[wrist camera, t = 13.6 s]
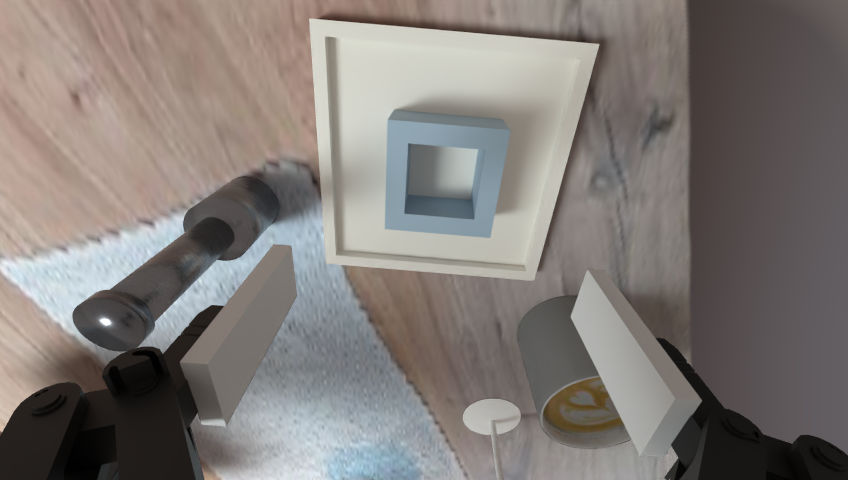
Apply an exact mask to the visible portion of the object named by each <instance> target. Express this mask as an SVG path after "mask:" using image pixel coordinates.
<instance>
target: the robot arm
mask: <svg viewBox="0 0 848 480" xmlns="http://www.w3.org/2000/svg"><path fill="white" fill-rule="evenodd" d="M296 297H297V291H296V282H295V273H294V265H293V256H292V248H291V246H289V245H276V244H274V245H273V246H272V247H271V248H270V250H269V251H268V252H267V253H266V255H265V256H264V257H263V258H262V260H261V261H260V262H259V263H258V265H257V266H256V267H255V268H254V270H253V271H252V272H251V273H250V275H249V276H248V277H247V278H246V280H245V281H244V282H243V283H242V285H241V286H240V287H239V288H238V290H237V291H236V292H235V293H234V295H233V296H232V297H231V298H230V300H229V301H228V302H227V303H226V305H225V306H217V305H211V306H210V307H208V308H207V309H205V310H203V311H202V312H200V313H199V314H198V315H197V316H196V317H195V318H194V319H193V320H192V322H191V323H190V324H189V326H188V327H186V328H185V330H184V331H183V332H182V333H181V336H178V338H177V339H176V340H175V341H174V342H173V343H172V344H171V346H170V347H169V348H168V349H167V350H166V351H165V352H164V354H162V352H161V351H160V349H157V348H155V347H140V348H136V349H132V350H129V351H127V352H125V353H123V354H120V355H119V356H117V357H116V358H115V359H113V360H112V361H110V363H109V364H108V365H107V366H106V367H105V368H104V371H103V374H102V377H103V379H104V381H105V383H106V385H107V387H108V389H105V390H99V391H94V392H88V393H84V392H83V391H82V389H81V388H80V387H79V385H78V384H75V383H70V382H66V383H58V384H55V385H52V386H49V387H46V388H43V389H41V390H40V391H38V392H36V393H34V394H32V395H31V396H29V397H28V398H27V399H25V400H24V401H23V402H21V403H20V405H19V406H18V407H17V408H16V410H15V411H14V412H13V414H12V416H11V418H10V420H9V421H8V423H7V425H6V427H5V428H4V430H3V432H2V434H1V436H0V480H204V476H203V472H202V468H201V464H200V460H199V457H198V453H197V449H196V445H195V441H194V437H193V433H192V430H191V427H190V424H191V422H192V421H193V419H194V418H195V416H196V414H197V413H198V416H199V419H200V422H201V424H202V425H213V426H227V424H228V422H229V420H230V418H231V417H232V415H233V413H234V411H235V409H236V407H237V406H238V404H239V402H240V400H241V398H242V396H243V395H244V393H245V391H246V389H247V387H248V385H249V384H250V382H251V380H252V378H253V376H254V374H255V372H256V371H257V369H258V367H259V365H260V363H261V361H262V360H263V358H264V356H265V354H266V352H267V350H268V349H269V347H270V345H271V343H272V341H273V339H274V338H275V336H276V334H277V332H278V330H279V328H280V326H281V325H282V323H283V321H284V319H285V317H286V315H287V314H288V312H289V310H290V308H291V306H292V304H293V303H294V301H295V299H296ZM571 319H572V321H573V323H574V325H575V327H576V329H577V331H578V333H579V335H580V337H581V339H582V341H583V343H584V345H585V347H586V349H587V351H588V353H589V355H590V357H591V359H592V361H593V363H594V365H595V367H596V369H597V371H598V373H599V375H600V377H601V379H602V381H603V383H604V385H605V387H606V389H607V391H608V393H609V395H610V397H611V399H612V401H613V403H614V405H615V407H616V409H617V411H618V413H619V415H620V417H621V419H622V421H623V423H624V425H625V427H626V429H627V431H628V433H629V435H630V437H631V439H632V441H633V443H634V445H635V447H636V449H637V451H638V453H639V455H640V456H648V457H663V458H664V456H665V455H666V453H667V452H668V450H669V449H670V447H671V446H672V447H673V449H674V451H675V453H676V454H677V456H678V459H677V461H676V462H675V464H674V465H673V466H672V468H671V469H670V471H669V472H668V473H667V475H666V476H665V479H666V480H669V479H670V480H848V455H847V454H845V453H844V452H843V451H842V450H840V449H839V448H837V447H836V446H834V445H833V444H831V443H829V442H827V441H825V440H823V439H820V438H818V437H814V436H810V435H800V436H799V437H798V438H797V439H796V440H795V441H794V443H793V444H791V443H788V442H785V441H781V440H779V439H776V438H772V437H769V436H766V435H763V434H762V433H761V431H760V430H759V428H758V427H757V426H755V425H754V424H753V423H752V422H751V421H750V420H748V419H747V418H745V417H744V416H742V415H741V414H739V413H736V412H734V411H732V410H729V409H725V408H724V407H723V406H722V405H721V403H720V402H719V401H718V400H717V398H716V397H715V396H714V395H713V393H712V392H711V391H710V390H709V388H708V387H707V386H706V385H705V383H704V382H703V381H702V379H701V378H700V377H699V376H698V374H697V373H695V372H694V369H693V368H692V367H691V366H690V364H688V363H687V361H686V359H685V358H684V357H683V356H682V354H681V353H680V352H679V351H678V349H676V348H675V347H674V346H673V345H671V344H670V343H669V342H668V341H666V340H665V339H662V338H655V337H654V336H653V334H652V333H651V332H650V330H649V329H648V328H647V326H646V325H645V324H644V322H643V321H642V320H641V318H640V317H639V316H638V314H637V313H636V312H635V310H634V309H633V308H632V306H631V305H630V304H629V302H628V301H627V300H626V298H625V297H624V296H623V294H622V293H621V292H620V290H619V289H618V288H617V286H616V285H615V284H614V282H613V281H612V280H611V278H610V277H609V276H608V274H607V273H606V272H605V270H593V269H587V272H586V275H585V277H584V280H583V283H582V286H581V289H580V291H579V294H578V297H577V300H576V303H575V306H574V308H573V311H572V314H571Z"/></svg>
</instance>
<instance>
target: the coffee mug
mask: <svg viewBox="0 0 848 480" xmlns="http://www.w3.org/2000/svg"><path fill="white" fill-rule="evenodd" d="M577 297H578V296H564V297H557V298H553V299H550V300H547V301H545V302H543V303H541V304H539V305H537V306H536V307H534V308H533V309H532V310H530V311H529V312H528V313H527V314H526V315H525V317H524V318H523V319H522V321H521V323H520V325H519V328H518V333H517V337H518V342H519V346H520V350H521V354H522V358H523V361H524V365H525V369H526V373H527V376H528V380H529V384H530V388H531V392H532V395H533V399H534V403H535V407H536V410H537V414H538V418H539V421H540V425H541V427H542V429H543V431H544V432H545V433H546V434H547V435H548V436H549V437H550V438H551V439H553V440H554V441H556V442H558V443H560V444H563V445H566V446H570V447H574V448H583V449H596V448H605V447H611V446H615V445H618V444H621V443H624V442H627V441H629V440H631V437H630V435H629V433H628V431H627V429H626V427H625V425H624V423H623V421H622V419H621V417H620V415H619V413H618V411H617V409H616V407H615V405H614V403H613V401H612V399H611V397H610V395H609V393H608V391H607V389H606V387H605V385H604V383H603V381H602V379H601V377H600V375H599V373H598V371H597V369H596V367H595V365H594V363H593V361H592V359H591V357H590V355H589V353H588V351H587V349H586V347H585V345H584V343H583V341H582V339H581V337H580V335H579V333H578V331H577V329H576V327H575V325H574V323H573V321H572V319H571V314H572V311H573V308H574V306H575V303H576V300H577Z"/></svg>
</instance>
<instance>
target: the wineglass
mask: <svg viewBox="0 0 848 480" xmlns="http://www.w3.org/2000/svg"><path fill="white" fill-rule="evenodd" d="M520 418H521V413H520V411H519V409H518V408H517V407H516V406H515V405H514V404H513V403H511V402H508V401H506V400H502V399H484V400H480V401H477V402H475V403H473V404H471V405H470V406H469V407H468V408H467V409H466V410H465V412H464V414H463V421H464V423H465V425H466V426H467V427H468V428H469V429H470V430H472V431H474V432H476V433H479V434H484V435H491V438H492V446H493V453H494V461H495V468H496V476H497V480H504V477H503V471H502V464H501V457H500V450H499V444H498V437H497V434H502V433H505V432H508V431H510V430H512V429H513V428H514V427H516V426H517V425H518V423H519V421H520Z"/></svg>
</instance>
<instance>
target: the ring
mask: <svg viewBox="0 0 848 480" xmlns="http://www.w3.org/2000/svg"><path fill="white" fill-rule="evenodd" d="M510 132H511V130H510V129H509V127H508V126H507V125H506V124H505V122H504V121H503V120H502V119H495V118H484V117H472V116H460V115H449V114H437V113H426V112H414V111H403V110H393V112H392V113H391V115H390V117H389V118H388V123H387V161H386V199H385V229H389V230H401V231H412V232H424V233H436V234H448V235H460V236H472V237H483V238H490V237H491V232H492V226H493V221H494V216H495V211H496V205H497V200H498V195H499V190H500V184H501V179H502V174H503V169H504V163H505V158H506V153H507V148H508V142H509V137H510ZM411 144H422V145H434V146H445V147H457V148H468V149H478V153H477V159H476V166H475V173H474V179H473V186H472V193H471V199H470V200H466V199H454V198H442V197H430V196H419V195H408V188H409V171H410V154H411Z"/></svg>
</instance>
